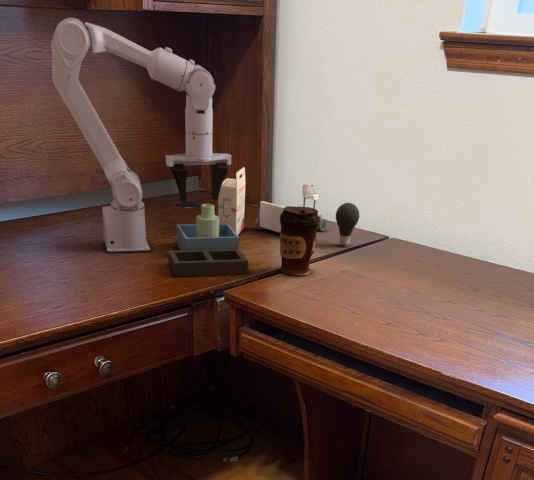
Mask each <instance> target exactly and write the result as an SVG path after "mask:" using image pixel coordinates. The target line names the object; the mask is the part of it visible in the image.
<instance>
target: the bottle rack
mask: <svg viewBox="0 0 534 480" xmlns="http://www.w3.org/2000/svg"><path fill="white" fill-rule="evenodd" d="M167 254H168V255H167V257H168V258H167V259H168V265H169V267H170V269H171V271H172V273H173V275H174V277H200V276H201V277H202V276H223V275H224V276H227V275H248V274H249V260H248V259H247V257H246V256H245V255H244V254H243V252H242V251H241V250H240V248H239V249H214V250H167Z"/></svg>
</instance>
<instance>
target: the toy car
mask: <svg viewBox="0 0 534 480" xmlns="http://www.w3.org/2000/svg"><path fill="white" fill-rule="evenodd" d="M302 197H303V205H302V207H306V200H309V199H310V200H312V201H313V207H312V208H314V209H316V202H317V201H318V200H320V197H321V195H320V194H317V191H316V190H315V188H314V185H313V184H311V185H309V184H303V185H302ZM285 207H286V206H283V205H280V204H276V203H272V202H268V201H264V200H262V201H260V202H259V217H257V218H256V219H255V220H254V229H255V230H257V231H261V230H263V229H267V230H270V231H273V232H276V233H280V232H281V224H280V215H281V214H282V212H283V211H284V210H283V209H284V208H285ZM317 214H318V216H319V217H320V222H319V226H318V229H317V231H319V232H324V231H325V230H326V229H327V227H328V221H327V220H326V219H325V218H323V215H322V214H319V213H317Z"/></svg>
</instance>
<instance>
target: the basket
mask: <svg viewBox="0 0 534 480" xmlns="http://www.w3.org/2000/svg"><path fill="white" fill-rule="evenodd" d="M176 245H177V247H178V248H179V251H181V250H214V249H239V250H240V236H239V234H238V235H237V234H236V233H235V231H234V230H233V229H232V228H231V227H230V225H229V224H219V237H199V238H197V234H196V223H188V224H187V223H185V224H183V223H182V224H176Z"/></svg>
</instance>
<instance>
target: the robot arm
mask: <svg viewBox="0 0 534 480" xmlns="http://www.w3.org/2000/svg"><path fill="white" fill-rule="evenodd" d="M50 44H51V78H52V82H53V85H54V87H55V88H56V90H57V92H58V94H59V95H60V97H61V99H62V101H63V102H64V104H65V105H66V107H67V109H68V111H69V113H70V114H71V116H72V118H73V119H74V121H75V123H76V124H77V127H78V129H79V130H80V132H81V133H82V135H83V136H84V138H85V140H86V142H87V144H88V146H89V147H90V149H91V151H92V153H93V154H94V156H95V158H96V159H97V162H99V165H100V167H101V168H102V170H103V173H104V174H105V176H106V177H105V178H106V179H107V181H108V183H109V184H110V187H111V193H112V198H113V200H112V201H111V202H110V205H108V206H102V208H101V211H102V225H103V233H102V237H103V242H104V245H105V249H106V252H107V253H119V252H150V251H151V247H150V245H149V243H148V241H147V230H146V210H145V203H144V202H143V201H142V200H143V196H144V195H143V189H142V185H141V184H142V183H141V179H140V177H139V176H138V174H137V173H135V171H133V170H132V169H130V167H129V166H128V165H127V163H126V161H125V159H123V157H122V156H121V154H120V152H119V150H118V149H117V147H116V145H115V143H114V141H113V139H112V138H111V136H110V133H109V132H108V130H107V128H106V127H105V125H104V123H103V121H102V120H101V118H100V115H99V114H98V112H97V111H96V109H95V107H94V105H93V103H92V102H91V100H90V98H89V96H88V94H87V93H86V90H85V89H84V87H83V85H82V84H81V82H80V80H79V77H80V71H81V66H82V61H83V60H84V59H85V57H86V55H87V53H88V51H89V49H90V48H91V50H92V51H91V52H92V54H99V53H106V52H107V53H110V54H113V55H115V56H117V57H120V58H122V59H124V60H127V61H129V62H131V63H134V64H136V65H139V66H141V67H142V68H146V71H147V73H148V75H149V77H150V79H151V80H154V81H156V82H158V83H159V84H163V85H165V86H167V87H169V88H172V89H173V90H176V91H178V92H183V91H185V93H186V94H185V99H186V100H185V108H184V109H185V110H184V114H185V115H184V116H185V123H184V124H185V153H177V154H165V165H166V166H167V167H169V170H170V173H171V174H172V176H173V179H174V181H175V185H176V187H177V191H178V195H179V200H180V201H181V202H183V203H186V202H187V179H188V172H189V171H188V170H187V169H186V167H185V166H205V165H206V166H208V165H209V167H210V176H211V198H212V199H213V200H215V201H218V197H219V192H220V189H221V186H222V183H223V181H224V180H225V179H226V177H227V174H228V173H229V168H230V167H229V166H231V165H232V154H230V153H220V152H219V153H218V152H213V125H214V124H213V122H214V121H213V120H214V119H213V117H214V116H213V115H214V113H213V112H214V110H213V95H214V93H215V91H216V84H215V80H214V77H213V76H212V74H211V73H210V71H208V70H207V69H205V68H204V67H202V66H201V65H199V64H195V63H196V62H195V61H194V60H193V59H191V58H190V59H189V60H187V59H185V58H183V57H181V56H179V55H177V54H175V53H173V49H172V48H170V47H168V46H165V47H164V48H162V47H156V48H155V49H154V50H149V49H147V48H145V47H144V46H141V45H140V44H137V43H135V42H133V41H131V40H129V39H128V38H125V37H124V36H122V35H120V34H118V33H116V32H114V31H112V30H110V29H108V28H106V27H103V26H100V25H97V24H94V23H91V22H83V21H82V20H80V19H78V18H76V17H66V18H64V19H63V20H61V21H60V22H59V23H58V24H57V25H56V28H55V30H54V33H53V35H52V39H51V43H50Z"/></svg>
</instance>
